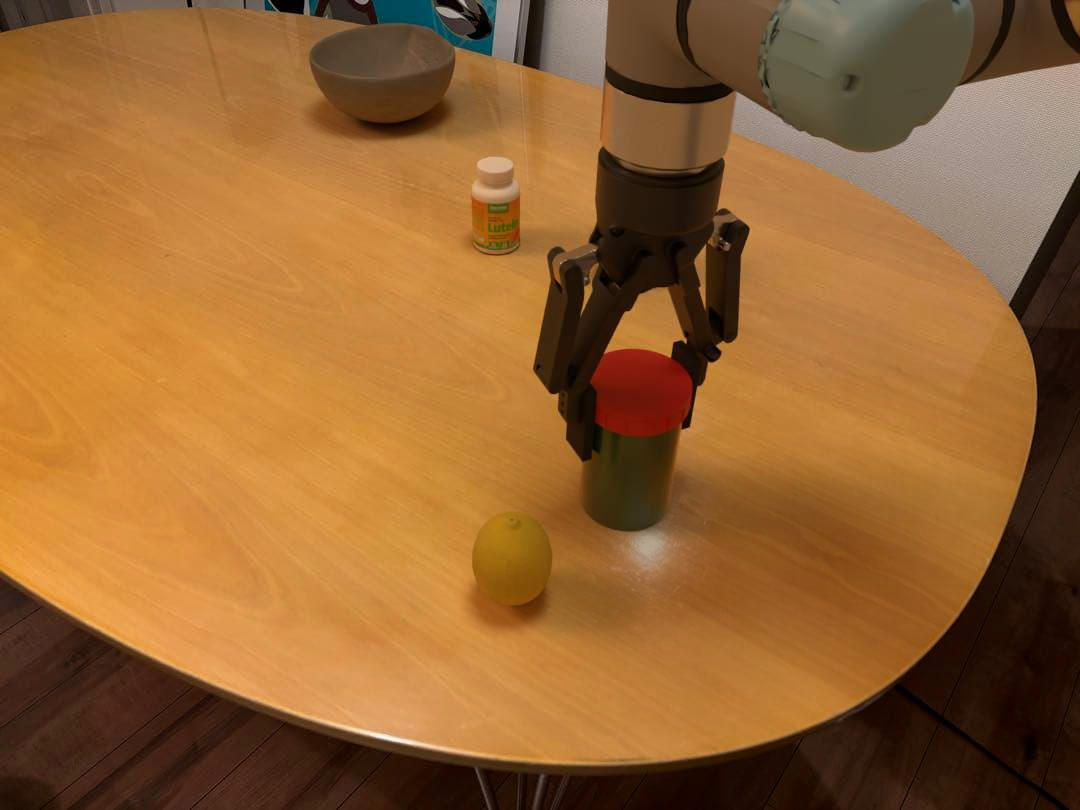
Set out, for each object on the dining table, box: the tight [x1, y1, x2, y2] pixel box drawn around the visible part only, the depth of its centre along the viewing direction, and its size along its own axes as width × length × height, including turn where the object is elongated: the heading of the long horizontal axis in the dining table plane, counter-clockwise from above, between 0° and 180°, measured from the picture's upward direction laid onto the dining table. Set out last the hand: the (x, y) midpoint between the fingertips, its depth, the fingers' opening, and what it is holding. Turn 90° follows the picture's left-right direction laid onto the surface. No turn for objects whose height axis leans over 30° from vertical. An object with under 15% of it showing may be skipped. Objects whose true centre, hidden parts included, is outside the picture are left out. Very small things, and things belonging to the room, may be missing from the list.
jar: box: [579, 422, 682, 532], centre depth 67 cm, size 7×7×12 cm
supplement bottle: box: [470, 156, 521, 255], centre depth 98 cm, size 5×5×10 cm
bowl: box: [308, 22, 457, 124], centre depth 126 cm, size 20×20×10 cm
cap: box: [590, 348, 692, 436], centre depth 64 cm, size 8×8×2 cm
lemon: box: [471, 511, 553, 606], centre depth 61 cm, size 6×6×8 cm
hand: (628, 432), depth 67 cm, fingers closed on cap, 8 cm apart
